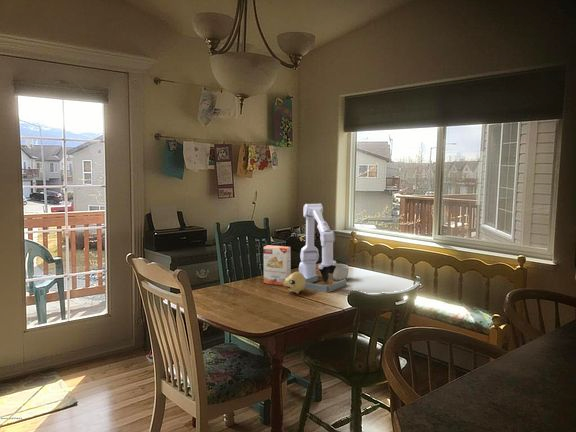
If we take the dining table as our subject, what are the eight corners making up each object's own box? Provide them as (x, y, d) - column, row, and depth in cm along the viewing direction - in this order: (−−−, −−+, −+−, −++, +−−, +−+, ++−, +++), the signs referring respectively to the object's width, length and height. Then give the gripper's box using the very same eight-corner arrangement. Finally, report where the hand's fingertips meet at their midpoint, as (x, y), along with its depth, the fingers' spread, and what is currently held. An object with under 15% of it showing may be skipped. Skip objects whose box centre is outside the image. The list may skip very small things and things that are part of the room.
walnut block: (322, 283, 239) (322, 274, 238) (326, 282, 242) (326, 272, 242) (329, 284, 237) (329, 275, 236) (333, 283, 240) (333, 273, 239)
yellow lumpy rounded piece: (279, 293, 233) (279, 272, 232) (295, 288, 242) (295, 268, 241) (293, 296, 226) (293, 275, 225) (309, 292, 235) (309, 271, 234)
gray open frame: (297, 287, 245) (297, 281, 245) (316, 280, 260) (316, 274, 260) (328, 292, 234) (328, 286, 234) (346, 284, 249) (346, 279, 249)
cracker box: (263, 284, 252) (262, 246, 250) (267, 281, 257) (267, 244, 255) (286, 286, 246) (286, 248, 244) (291, 283, 252) (290, 246, 250)
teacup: (348, 277, 267) (348, 263, 266) (348, 281, 256) (348, 267, 255) (324, 276, 268) (324, 263, 267) (323, 281, 257) (323, 267, 257)
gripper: (326, 257, 230) (326, 284, 231) (341, 253, 242) (341, 278, 243) (314, 256, 234) (315, 282, 235) (329, 251, 246) (329, 276, 247)
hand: (327, 280), depth 239 cm, fingers closed on walnut block, 4 cm apart
